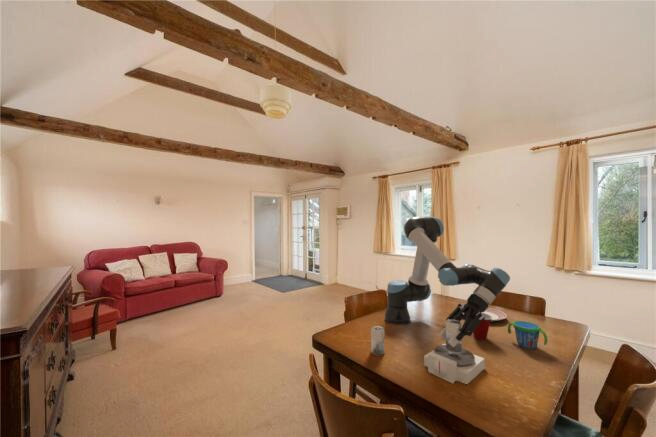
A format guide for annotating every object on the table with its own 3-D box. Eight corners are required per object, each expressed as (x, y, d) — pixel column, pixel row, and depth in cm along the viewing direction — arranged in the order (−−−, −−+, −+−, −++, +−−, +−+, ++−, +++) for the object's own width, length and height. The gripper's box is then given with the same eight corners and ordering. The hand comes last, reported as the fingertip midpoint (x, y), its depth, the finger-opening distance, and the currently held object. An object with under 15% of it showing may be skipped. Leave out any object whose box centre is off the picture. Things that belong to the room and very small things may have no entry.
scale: (419, 368, 107) (419, 351, 107) (444, 352, 120) (443, 337, 120) (462, 388, 94) (462, 369, 94) (484, 368, 107) (484, 351, 107)
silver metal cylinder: (443, 348, 109) (442, 321, 109) (450, 343, 112) (449, 318, 113) (457, 353, 104) (457, 325, 104) (464, 348, 108) (463, 321, 108)
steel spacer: (368, 352, 121) (368, 328, 121) (377, 348, 125) (376, 324, 125) (378, 357, 116) (378, 332, 116) (387, 352, 120) (386, 328, 120)
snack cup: (503, 341, 131) (503, 321, 131) (515, 337, 135) (515, 317, 135) (539, 355, 117) (539, 333, 117) (552, 350, 121) (551, 328, 121)
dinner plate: (446, 312, 172) (446, 307, 172) (475, 307, 183) (475, 302, 183) (486, 328, 147) (486, 322, 147) (517, 320, 158) (516, 315, 158)
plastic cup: (496, 343, 129) (496, 318, 129) (472, 341, 131) (472, 317, 131) (487, 333, 140) (487, 311, 140) (465, 332, 142) (465, 309, 142)
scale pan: (427, 354, 109) (427, 352, 109) (445, 343, 119) (445, 341, 119) (464, 370, 98) (464, 367, 98) (480, 357, 107) (480, 354, 107)
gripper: (504, 312, 102) (467, 359, 99) (470, 298, 120) (438, 337, 117) (492, 300, 101) (454, 346, 98) (460, 287, 119) (427, 326, 117)
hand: (445, 341), depth 108 cm, fingers closed on silver metal cylinder, 6 cm apart
